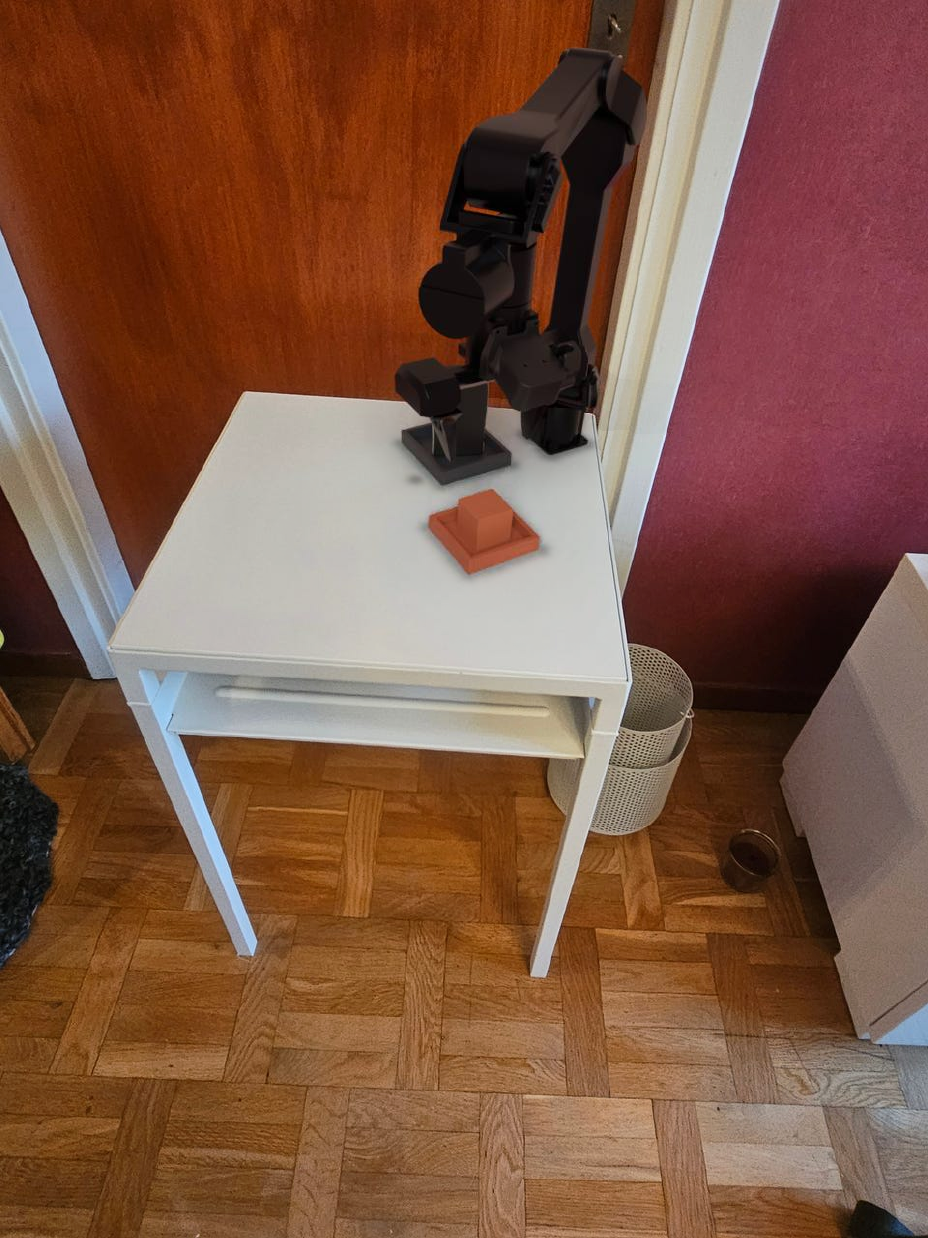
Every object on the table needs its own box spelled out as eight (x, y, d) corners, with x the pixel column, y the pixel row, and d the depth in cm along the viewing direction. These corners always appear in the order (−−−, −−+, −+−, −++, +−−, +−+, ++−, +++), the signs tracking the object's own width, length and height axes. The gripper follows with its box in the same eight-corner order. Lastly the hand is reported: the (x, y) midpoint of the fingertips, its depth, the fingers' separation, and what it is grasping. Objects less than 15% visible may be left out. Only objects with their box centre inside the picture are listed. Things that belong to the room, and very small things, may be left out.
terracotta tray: (495, 506, 90) (496, 493, 89) (538, 549, 85) (540, 536, 83) (428, 528, 87) (428, 515, 85) (468, 574, 81) (469, 561, 80)
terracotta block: (489, 519, 88) (492, 488, 84) (510, 541, 85) (513, 509, 82) (456, 530, 86) (457, 498, 83) (476, 553, 83) (478, 520, 80)
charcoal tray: (467, 424, 103) (468, 412, 102) (510, 465, 97) (511, 452, 95) (401, 442, 100) (401, 429, 98) (441, 485, 93) (442, 472, 92)
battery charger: (481, 440, 100) (485, 359, 92) (485, 456, 97) (490, 374, 89) (429, 442, 99) (429, 360, 91) (432, 458, 96) (432, 375, 88)
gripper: (452, 352, 58) (448, 515, 69) (639, 310, 65) (608, 464, 76) (389, 300, 65) (394, 456, 76) (564, 267, 72) (546, 414, 83)
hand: (489, 448), depth 77 cm, fingers open, 9 cm apart
